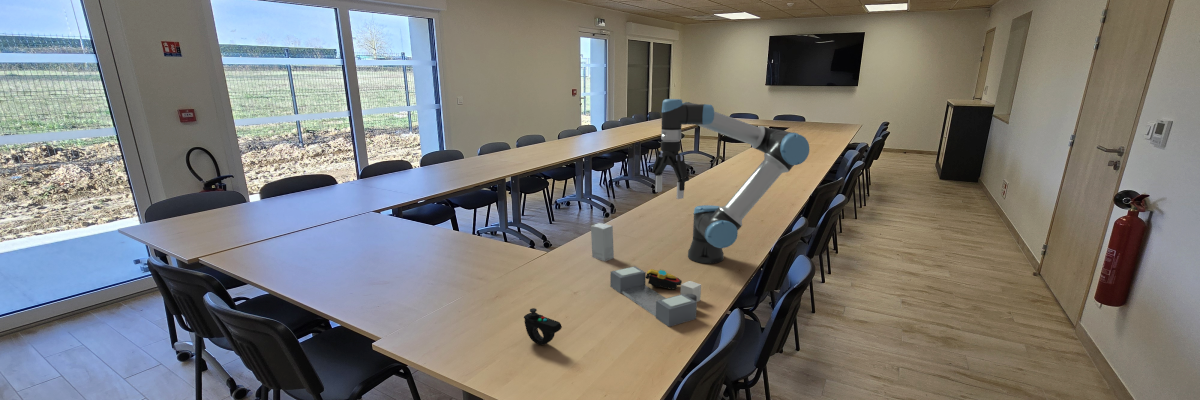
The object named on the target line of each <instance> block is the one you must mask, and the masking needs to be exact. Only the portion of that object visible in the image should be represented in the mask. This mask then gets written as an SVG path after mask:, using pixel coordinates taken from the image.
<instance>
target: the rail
mask: <svg viewBox="0 0 1200 400" xmlns="http://www.w3.org/2000/svg"><path fill="white" fill-rule="evenodd" d="M620 294H621V295H624V296H625V297H626V298H628V299H629V300H631V301H632V302H634V303H635V304H637V306H639V307H641V308H642V309H644V310H645V311H647V312H648V313H650V314H651V315H652V316H654V317H655V318H656V301H658V300H662V299H666V296H664V295H662V294H660V293H659V292H657V291H655V290H654V289H652V288H651V287H649V286H647V285H646V284H645V285H640V286H636V287H632V288H628V289H624V290H621V293H620Z"/></svg>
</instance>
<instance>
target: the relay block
mask: <svg viewBox="0 0 1200 400" xmlns="http://www.w3.org/2000/svg"><path fill="white" fill-rule="evenodd" d="M681 294H684V295H686V294H694V295H696V296H697V303H698V302H700V301H701V295H702V284H701V283H699V282H698V283H697V282H695V281H692V280H688V281H686V282H683V283H681V285H680V294H679V295H681Z"/></svg>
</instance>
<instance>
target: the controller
mask: <svg viewBox="0 0 1200 400" xmlns="http://www.w3.org/2000/svg"><path fill="white" fill-rule="evenodd" d="M537 311H538V310H537V308H535V307H534V308H533V307H532V308H530V309H529V313H527V314H525V315H524V316H523V319H524V321H523V322H524V326H525V331H526V333H527V335H528V337H529V339H530V340H531V341H532V342H533V343H535V344H537V345H541V346H544V345H547V344H548V343H550V342H551V341H553V339H554V338H555V334H556V333H557V332H559V331H560V330H562V328H563V327H562V324H561V322H559V321H558V320H554V319H552V318H548V317H546V316H544V315H543V314H540V313H537ZM539 330H540V331H541V333H542V335H541V334H540V332H539Z"/></svg>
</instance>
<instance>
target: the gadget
mask: <svg viewBox="0 0 1200 400" xmlns="http://www.w3.org/2000/svg"><path fill="white" fill-rule="evenodd" d="M645 280H648V282H647V284H648V285H649V284H650V285H651V286H653V287H656V288H660V287H661V288H665V289H669V290H677V287H678V286H681V284H683V283H682V282H683V281H682V279H681V278H678V277H676V276H675V275H673V274H672V273H668V272H667V271H666V270H664V269H659V270H657V269H655V268H654V269H653V268H651V269H649V270H647V272H646V278H645Z"/></svg>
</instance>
